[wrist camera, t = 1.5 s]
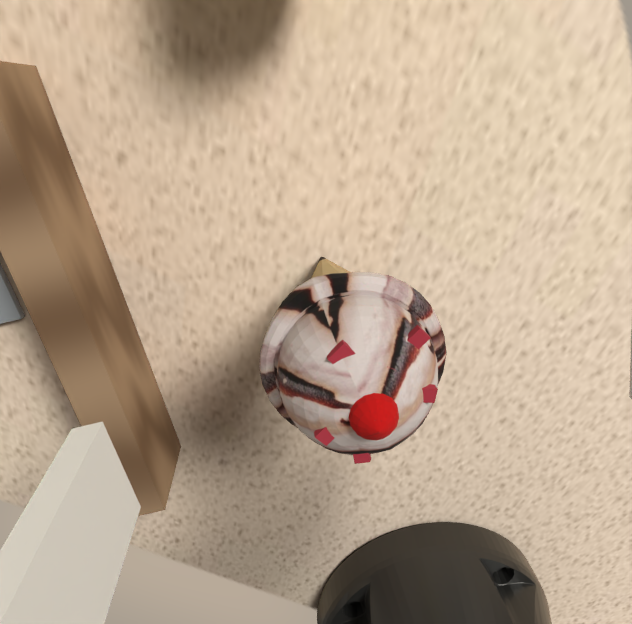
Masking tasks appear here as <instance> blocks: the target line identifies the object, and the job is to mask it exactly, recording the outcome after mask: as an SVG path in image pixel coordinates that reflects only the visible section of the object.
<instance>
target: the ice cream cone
mask: <svg viewBox="0 0 632 624" xmlns="http://www.w3.org/2000/svg"><path fill="white" fill-rule="evenodd" d="M445 358H446V346H445V338H444V334H443V331H442V328H441V325H440V322H439V320H438V318H437V316H436V314H435V312H434V311H433V309H432V307H431V305H430V304H429V303H428V302H427V301H426V299H425V298H424V297H423V296H422V295H421V294H420V293H419V292H418V291H416V290H415V289H414V288H412V287H411V286H409V285H408V284H407V283H405V282H403V281H400V280H398V279H396V278H394V277H391V276H389V275H383V274H377V273H366V272H349V271H347V270H345V269H344V268H342V267H340V266H338V265H336V264H335V263H333V262H331V261H329V260H327V259H326V258H324V257H321V258H320V260H319V262H318V264H317V267H316V269H315V271H314V273H313V275H312V277H311V279H309V280H307V281H306V282H304V283H302V284H301V285H299V286H297V287H296V288H295V289H294V290H293V291H292V292H291V293H290V294H289V295H288V296H287V298H286V299H285V300H284V301H283V302H282V304H281V305H280V307H279V308H278V310H277V312H276V313H275V315H274V316H273V318H272V320H271V322H270V325H269V327H268V329H267V332H266V334H265V337H264V341H263V344H262V348H261V351H260V365H259V369H260V374H261V379H262V384H263V386H264V389H265V391H266V393H267V395H268V397H269V399H270V401H271V403H272V404H273V406H274V407H275V408H276V409H277V411H278V412H279V413H280V414H281V415H282V416H283V417H284V418H285V419H286V420H288V421H289V422H290V423H291V424H292V425H294V426H295V427H297V428H299V430H300V431H301V432H302V433H304V434H305V435H306V436H307V437H308V438H309V439H311V440H312V441H314V442H316V443H317V444H319V445H321V446H323V447H325V448H326V449H329V450H332V451H335V452H338V453H342V454H348V455H353V457H354V462H355V464H356V463H366V462H370V460H371V456H370V454H373V453H379V452H382V451H386V450H390V449H393V448H394V447H396V446H397V445H399V444H400V443H402V442H403V441H405V440H406V439H407V438H408V437H410V436H411V435H412V434H413V433H414V432H415V431H416V430H417V429H418V428H419V427H420V426H421V425H422V423H423V422H424V420H425V418H426V417H427V415H428V414H429V411H430V409H431V407H432V404H433V403H434V402H435V398H436V394H437V390H438V389H437V386H438V383H439V381H440V378H441V376H442V373H443V370H444V364H445Z"/></svg>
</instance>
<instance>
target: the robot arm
mask: <svg viewBox="0 0 632 624" xmlns="http://www.w3.org/2000/svg"><path fill="white" fill-rule="evenodd" d="M630 398H631V399H632V331H631V365H630ZM140 508H141V506H140V504H139V502H138V499H137V497H136V495H135V493H134V490H133V488H132V486H131V484H130V482H129V479H128V477H127V475H126V473H125V470H124V468H123V466H122V464H121V462H120V459H119V457H118V455H117V453H116V450H115V448H114V446H113V444H112V441H111V439H110V437H109V435H108V433H107V430H106V428H105V426H104V424H103V422H99V423H94V424H90V425H85V426H81V427H77V428H72V429H71V431H70V433H69V434H68V436H67V438H66V440H65V441H64V443H63V445H62V446H61V448H60V450H59V451H58V453H57V455H56V457H55V458H54V460H53V462H52V463H51V465H50V467H49V468H48V470H47V472H46V473H45V475H44V477H43V479H42V480H41V482H40V484H39V485H38V487H37V489H36V490H35V492H34V494H33V496H32V497H31V499H30V501H29V502H28V504H27V506H26V507H25V509H24V511H23V513H22V514H21V516H20V518H19V519H18V521H17V523H16V524H15V526H14V528H13V530H12V531H11V533H10V535H9V536H8V538H7V540H6V541H5V543H4V545H3V547H2V548H1V550H0V624H104V623H105V620H106V617H107V614H108V610H109V607H110V604H111V601H112V598H113V594H114V591H115V588H116V585H117V581H118V579H119V575H120V572H121V569H122V566H123V563H124V559H125V556H126V553H127V550H128V547H129V543H130V540H131V537H132V534H133V531H134V527H135V524H136V521H137V518H138V515H139V511H140ZM317 623H318V624H552V623H551V618H550V612H549V607H548V603H547V599H546V596H545V594H544V591H543V589H542V586H541V584H540V583H539V581H538V579H537V577H536V575H535V573H534V572H533V570H532V568H531V566H530V564H529V563H528V561H527V559H526V558H525V556H524V555H523V554H522V552H521V551H520V550H519V549H518V548H517V547H516V546H515V545H514V544H513V543H512V542H510V541H509V540H507V539H506V538H504V537H503V536H501V535H499V534H497V533H495V532H493V531H490V530H488V529H485V528H482V527H478V526H474V525H469V524H463V523H451V522H438V523H427V524H420V525H415V526H410V527H406V528H403V529H399V530H396V531H393V532H391V533H388V534H386V535H383V536H381V537H379V538H377V539H375V540H373V541H371V542H369V543H368V544H366V545H364V546H363V547H361V548H360V549H358V550H357V551H356V552H354V553H353V554H352V555H350V556H349V557H348V558H347V559H346V560H345V561H344V562H343V563H342V564H341V565H340V566H339V567H338V568H337V569H336V570H335V572H334V573H333V574H332V576H331V577H330V578H329V580H328V582H327V583H326V585H325V587H324V589H323V591H322V594H321V597H320V600H319V604H318V610H317Z"/></svg>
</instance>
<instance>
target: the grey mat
mask: <svg viewBox="0 0 632 624" xmlns="http://www.w3.org/2000/svg"><path fill="white" fill-rule="evenodd" d="M24 316H25V315H24V312H23V310H22V308H21V306H20V304H19V302H18V300H17V297H16V295H15V293H14V291H13V289H12V287H11V285H10V282H9V280H8V278H7V276H6V274H5V272H4V270H3V267H2V265H1V263H0V324H1V323H5V322H10V321H14V320H19V319H22V318H23V317H24Z"/></svg>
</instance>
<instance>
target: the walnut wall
mask: <svg viewBox="0 0 632 624" xmlns="http://www.w3.org/2000/svg"><path fill="white" fill-rule="evenodd" d="M0 252H1V254H2V256H3V258H4V260H5V262H6V264H7V267H8V269H9V271H10V273H11V275H12V277H13V280H14V282H15V284H16V286H17V288H18V290H19V293H20V295H21V297H22V299H23V301H24V303H25V306H26V308H27V310H28V312H29V314H30V316H31V318H32V321H33V323H34V325H35V327H36V329H37V331H38V334H39V336H40V338H41V340H42V342H43V344H44V347H45V349H46V351H47V353H48V355H49V357H50V360H51V362H52V364H53V366H54V368H55V370H56V372H57V375H58V377H59V379H60V381H61V383H62V385H63V388H64V390H65V392H66V394H67V396H68V398H69V401H70V403H71V405H72V407H73V409H74V411H75V414H76V416H77V418H78V420H79V422H80V424H81V426H85V425H90V424H94V423H99V422H103V424H104V426H105V428H106V430H107V433H108V435H109V437H110V439H111V441H112V444H113V446H114V448H115V450H116V453H117V455H118V457H119V459H120V462H121V464H122V466H123V468H124V470H125V473H126V475H127V477H128V479H129V482H130V484H131V486H132V488H133V490H134V493H135V495H136V497H137V499H138V502H139V504H140V506H141V508H140V511H139V515H138V516H140V515H144V514H149V513H153V512H157V511H162V510H165V507H166V503H167V499H168V496H169V492H170V488H171V484H172V480H173V476H174V472H175V468H176V464H177V460H178V456H179V452H180V448H181V445H180V442H179V440H178V437H177V435H176V432H175V429H174V427H173V424H172V421H171V419H170V416H169V414H168V411H167V408H166V406H165V403H164V401H163V398H162V395H161V393H160V390H159V387H158V385H157V382H156V380H155V377H154V374H153V372H152V369H151V366H150V364H149V361H148V359H147V356H146V353H145V351H144V348H143V345H142V343H141V340H140V338H139V335H138V332H137V330H136V327H135V324H134V322H133V319H132V317H131V314H130V311H129V309H128V306H127V304H126V301H125V298H124V296H123V293H122V290H121V288H120V285H119V283H118V280H117V277H116V275H115V272H114V269H113V267H112V264H111V262H110V259H109V256H108V254H107V251H106V248H105V246H104V243H103V241H102V238H101V235H100V233H99V230H98V227H97V225H96V222H95V220H94V217H93V214H92V212H91V209H90V207H89V204H88V201H87V199H86V196H85V193H84V191H83V188H82V186H81V183H80V180H79V178H78V175H77V172H76V170H75V167H74V165H73V162H72V159H71V157H70V154H69V151H68V149H67V146H66V144H65V141H64V138H63V136H62V133H61V130H60V128H59V125H58V123H57V120H56V117H55V115H54V112H53V110H52V107H51V104H50V102H49V99H48V96H47V94H46V91H45V89H44V86H43V83H42V81H41V78H40V75H39V73H38V70H37V68H36V66H32V65H24V64H17V63H10V62H2V61H0Z"/></svg>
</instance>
